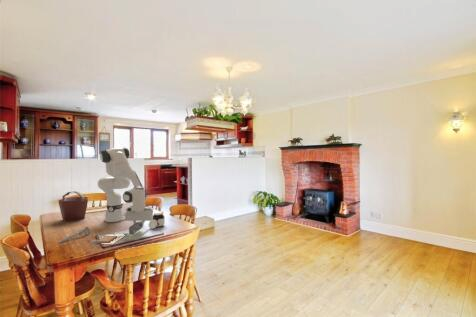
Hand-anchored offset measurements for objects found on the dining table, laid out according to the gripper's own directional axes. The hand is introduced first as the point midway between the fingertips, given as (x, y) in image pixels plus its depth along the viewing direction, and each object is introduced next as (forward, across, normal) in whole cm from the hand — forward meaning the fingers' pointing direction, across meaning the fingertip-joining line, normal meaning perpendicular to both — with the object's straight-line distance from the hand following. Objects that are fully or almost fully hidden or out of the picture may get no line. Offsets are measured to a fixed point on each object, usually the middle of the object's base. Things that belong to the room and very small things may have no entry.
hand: (139, 226), depth 178 cm
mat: (+5, +15, +13) cm, 20 cm away
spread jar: (+5, -8, -15) cm, 18 cm away
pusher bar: (+2, 0, +5) cm, 5 cm away
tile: (+4, +15, +12) cm, 19 cm away
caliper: (+6, +41, +11) cm, 43 cm away
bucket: (+5, +76, -40) cm, 86 cm away
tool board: (+5, 0, +5) cm, 7 cm away
